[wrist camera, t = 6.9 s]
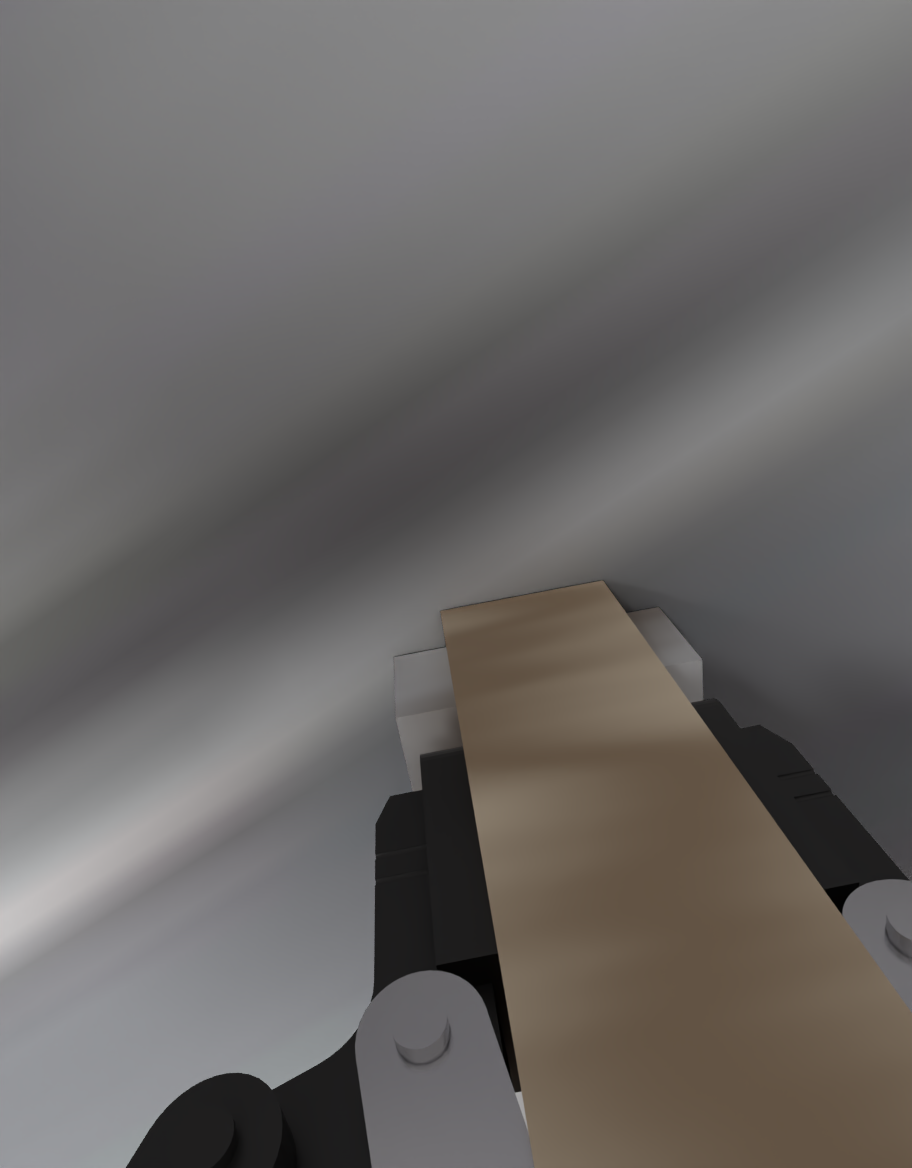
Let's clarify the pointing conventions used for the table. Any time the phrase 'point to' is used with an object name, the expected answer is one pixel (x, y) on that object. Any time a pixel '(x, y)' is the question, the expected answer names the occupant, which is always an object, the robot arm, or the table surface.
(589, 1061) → the plank with tan block
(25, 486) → the table surface
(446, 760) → the robot arm
